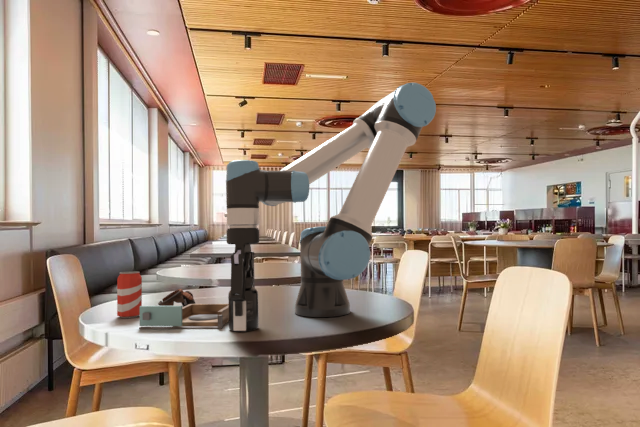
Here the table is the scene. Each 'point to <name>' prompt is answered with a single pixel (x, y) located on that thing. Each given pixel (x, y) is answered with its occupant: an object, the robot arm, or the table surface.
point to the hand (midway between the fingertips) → (243, 326)
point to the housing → (200, 317)
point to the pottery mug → (178, 298)
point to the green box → (160, 315)
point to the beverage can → (129, 294)
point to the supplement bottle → (247, 307)
